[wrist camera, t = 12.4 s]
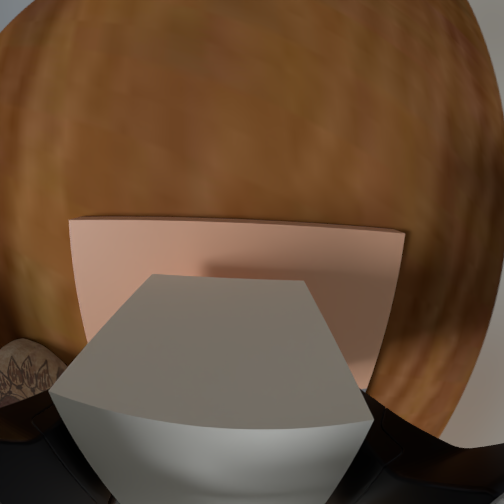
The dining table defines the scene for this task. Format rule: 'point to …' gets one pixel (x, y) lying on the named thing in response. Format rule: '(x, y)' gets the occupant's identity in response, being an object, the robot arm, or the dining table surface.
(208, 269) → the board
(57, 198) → the dining table surface
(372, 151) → the dining table surface
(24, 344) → the figurine
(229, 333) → the cream block
